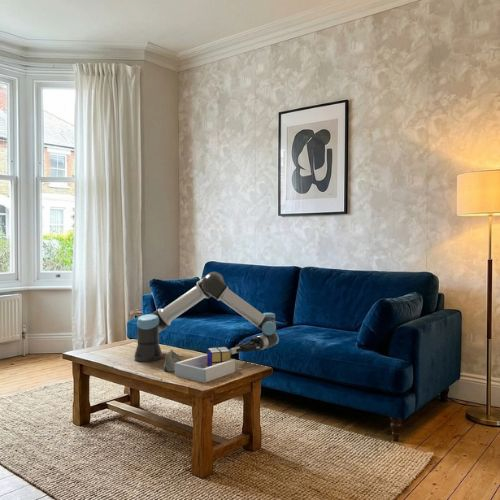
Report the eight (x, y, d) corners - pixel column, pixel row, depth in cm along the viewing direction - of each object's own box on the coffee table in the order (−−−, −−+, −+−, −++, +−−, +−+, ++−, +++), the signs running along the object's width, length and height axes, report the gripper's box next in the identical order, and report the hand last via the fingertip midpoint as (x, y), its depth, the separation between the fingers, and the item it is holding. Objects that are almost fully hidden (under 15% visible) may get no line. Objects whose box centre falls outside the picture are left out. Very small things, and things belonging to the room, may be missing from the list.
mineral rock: (175, 364, 257) (175, 345, 257) (189, 367, 250) (189, 348, 250) (156, 369, 247) (155, 349, 247) (170, 373, 241) (170, 353, 240)
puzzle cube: (207, 367, 251) (207, 348, 250) (226, 365, 254) (226, 346, 253) (211, 372, 241) (211, 352, 241) (231, 371, 244) (231, 351, 244)
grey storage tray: (206, 365, 254) (206, 354, 254) (235, 371, 242) (235, 359, 242) (174, 375, 237) (174, 363, 237) (203, 382, 225) (203, 369, 224)
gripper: (268, 351, 269) (240, 360, 250) (249, 348, 277) (221, 356, 259) (268, 338, 269) (240, 346, 250) (249, 335, 277) (221, 342, 258)
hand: (231, 351), depth 254 cm, fingers closed
